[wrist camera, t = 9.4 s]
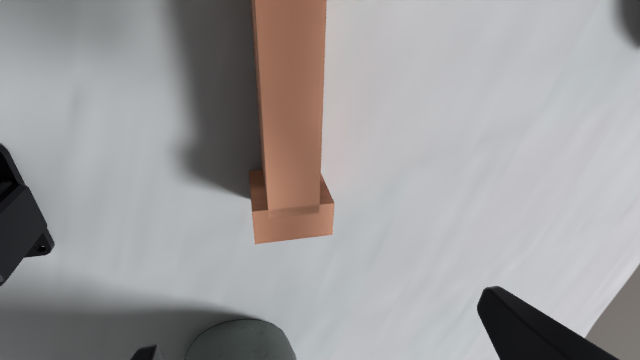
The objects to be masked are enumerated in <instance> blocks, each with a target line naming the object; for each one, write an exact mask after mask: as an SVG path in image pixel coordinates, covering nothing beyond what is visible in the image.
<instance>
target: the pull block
mask: <svg viewBox="0 0 640 360" xmlns="http://www.w3.org/2000/svg"><path fill="white" fill-rule="evenodd" d="M251 13H252V27H253V42H254V57H255V72H256V86H257V101H258V116H259V130H260V145H261V160H262V170H253V171H249V179H250V191H251V204H252V216H253V227H254V238H255V244H259V243H267V242H276V241H284V240H292V239H300V238H308V237H317V236H325V235H332V232H333V215H334V202H333V199H332V197H331V195H330V193H329V190H328V188H327V186H326V184H325V181H324V179H323V177H322V175H321V145H322V116H323V87H324V58H325V29H326V0H251Z"/></svg>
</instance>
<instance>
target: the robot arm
mask: <svg viewBox="0 0 640 360" xmlns="http://www.w3.org/2000/svg"><path fill="white" fill-rule="evenodd" d="M40 245H43V246H44V247H42V246H40ZM54 245H55V244H54V241H53V239H52V237H51V235H50V233H49V231H48V229H47V223H46V221H45V219H44V217H43V215H42V213H41V211H40V209H39V207H38V205H37V203H36V201H35V199H34V197H33V195H32V193H31V191H30V189H29V187H28V186H26V185H25V183H24V181H23V179H22V177H21V175H20V173H19V171H18V169H17V167H16V165H15V163H14V161H13V159H12V157H11V155H10V153H9V151H8V150H7V149H6V148H5V147H3V146H2V145H0V286H2V285H3V284H4V283H5V282H6V280H7V279H8V278H9V276H10V275H11V274H12V273H13V271H14V270H15V269H16V267H17V266H18V265H19V263H20V262H21V261H22V259H23V258H25V257H33V256H42V255H47V254H49V253H50V252H51V250H52V249H53V248H54ZM477 311H478V314H479V316H480V319H481V321H482V323H483V325H484V327H485V329H486V331H487V333H488V335H489V338H490V340H491V342H492V344H493V346H494V348H495V350H496V352H497V354H498V356H499V358H500V360H619V359H618V358H616V357H614V356H613V355H611V354H609V353H608V352H606V351H604V350H603V349H601V348H599V347H598V346H596V345H595V344H593V343H591V342H589V341H588V340H587V339H585V338H583V337H582V336H580V335H578V334H577V333H575V332H573V331H572V330H570V329H569V328H567V327H565V326H564V325H562V324H560V323H559V322H557V321H555V320H554V319H552V318H551V317H549V316H547V315H546V314H544V313H542V312H541V311H539V310H538V309H536V308H534V307H533V306H531V305H529V304H528V303H526V302H524V301H523V300H521V299H520V298H518V297H516V296H515V295H513V294H511V293H510V292H508V291H506V290H505V289H503V288H501V287H499V286H493V287H487V288H485V289H484V290H483V292H482V295H481V297H480V300H479V302H478V305H477ZM131 360H164V357H163V354H162V352H161V349H160V346H159V345H158V344H152V345H146V346H142V347H140V348H139V349H138V350H137V351H136V353H135V354H134V355H133V357H132V358H131Z"/></svg>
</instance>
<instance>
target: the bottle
mask: <svg viewBox="0 0 640 360" xmlns="http://www.w3.org/2000/svg"><path fill="white" fill-rule="evenodd" d="M184 360H296V356H295V353H294V351H293V349H292V347H291V345H290V343H289V341H288V339H287V337H286V336H285V334H284V332H283V331H282V330H281V329H279V328H278V327H276V326H275V325H273V324H271V323H267V322H264V321H260V320H245V319H243V320H236V321H230V322H225V323H222V324H220V325H217V326H214V327H212V328H210V329H208V330H207V331H205V332H204V333H202V334H201V335H199V336H198V337H197V338H196V339H195V341H194V342H193V343H192V344H191V345H190V347H189V350H188V352H187V354H186V356H185V359H184Z"/></svg>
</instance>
